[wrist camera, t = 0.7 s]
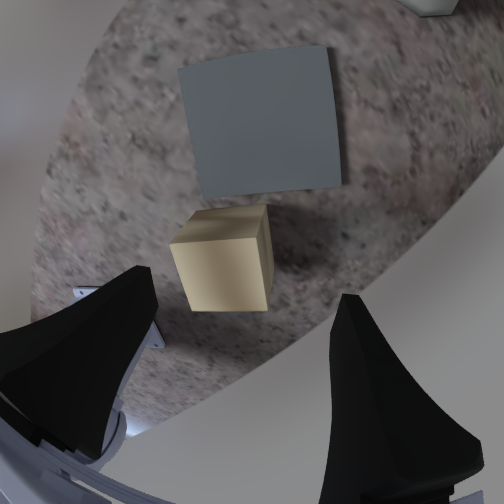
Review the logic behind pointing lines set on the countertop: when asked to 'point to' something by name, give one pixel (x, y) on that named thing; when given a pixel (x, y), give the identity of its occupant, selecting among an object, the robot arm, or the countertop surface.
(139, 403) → the countertop surface
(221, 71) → the coaster
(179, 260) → the block
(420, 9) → the flask
